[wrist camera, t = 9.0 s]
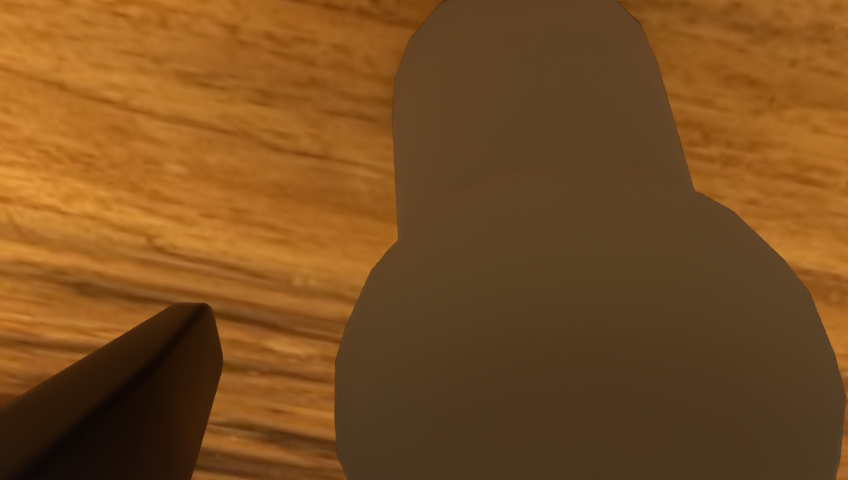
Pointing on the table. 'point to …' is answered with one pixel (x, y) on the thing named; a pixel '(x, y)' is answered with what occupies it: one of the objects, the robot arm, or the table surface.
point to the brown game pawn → (570, 278)
